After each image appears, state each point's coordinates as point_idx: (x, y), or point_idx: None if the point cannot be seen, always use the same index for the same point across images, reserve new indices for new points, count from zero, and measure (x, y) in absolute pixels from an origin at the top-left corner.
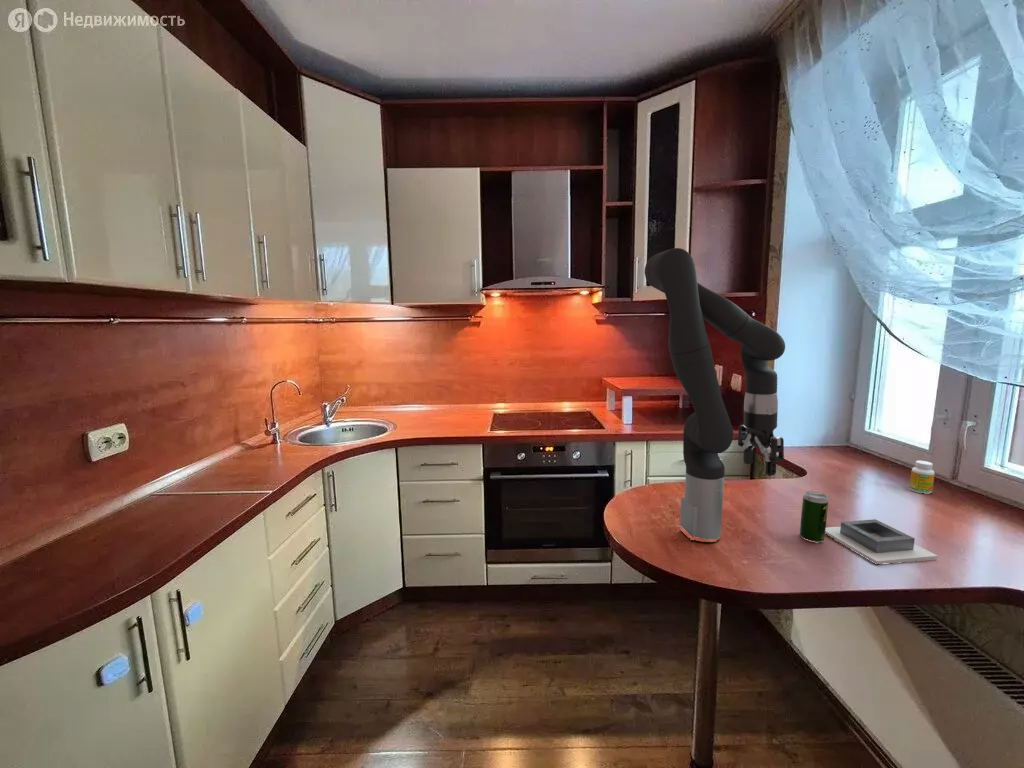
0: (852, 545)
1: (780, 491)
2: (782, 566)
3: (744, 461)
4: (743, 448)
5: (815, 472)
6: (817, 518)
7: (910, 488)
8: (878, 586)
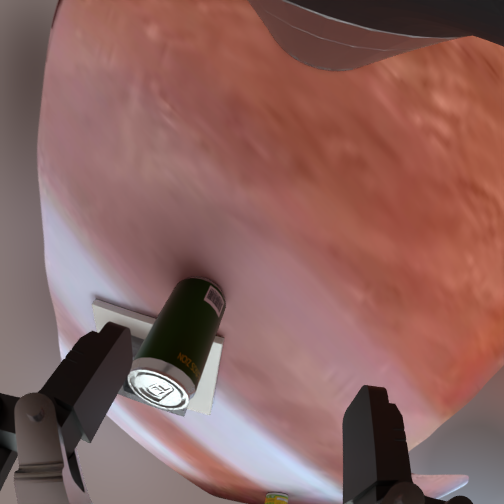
0: (143, 325)
1: None
2: (110, 113)
3: (380, 397)
4: (401, 499)
5: None
6: (152, 326)
7: (283, 495)
8: (45, 236)
